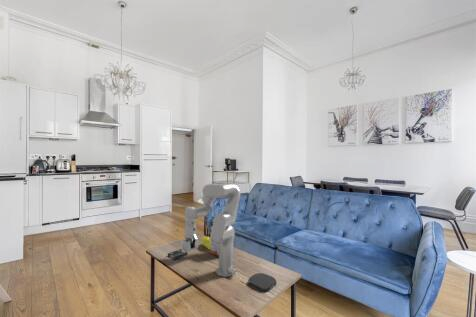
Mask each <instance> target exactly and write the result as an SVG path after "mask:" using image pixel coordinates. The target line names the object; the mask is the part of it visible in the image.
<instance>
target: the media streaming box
mask: <svg viewBox="0 0 476 317" xmlns="http://www.w3.org/2000/svg"><path fill="white" fill-rule="evenodd" d="M247 284H248V286H249V287H251V288H252V289H256V290H258V291H260V292H262V293H268V292H270V291H271V290H272V289H273V288H274V287H275V286H276V285H277V280H276V278H275V277H273V276H272V275H269V274H267V273H263V272H260V273H259V272H257V273H255V274H253V275H251V276H250V277H249V278H248V281H247Z"/></svg>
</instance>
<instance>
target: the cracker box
mask: <svg viewBox="0 0 476 317" xmlns="http://www.w3.org/2000/svg"><path fill="white" fill-rule="evenodd" d="M212 227H213V226H211V227H210V229H209V230H210V231H209V232H210V233H209V234H210V236H209V237H210V250H209V253H210V254H211V255H215V256H218V257H219V244H216V243H214V242H213V241H212V238H211V232H212Z"/></svg>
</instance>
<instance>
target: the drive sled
mask: <svg viewBox="0 0 476 317" xmlns="http://www.w3.org/2000/svg"><path fill="white" fill-rule="evenodd" d="M188 252H189V251H188ZM188 252H186V251H183V248H180V249H176V250H173V251H170V252H168V253H167V257H168V258H170V259H171V260H173V261H176V260H179V259H180V258H183V257H186V256H188Z"/></svg>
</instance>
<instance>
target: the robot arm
mask: <svg viewBox="0 0 476 317" xmlns="http://www.w3.org/2000/svg"><path fill="white" fill-rule="evenodd" d="M226 197H228V198H227V200H226V202H225V205H224V209H223V211H221V212H217V213H216V214H215V216H214V217H213V218H214V219H213V222H212V226H211V227H212V232H211V238H212V241H213V242H214V243H216V244H219V256H218V267H217V269H216V271H215V273H216V275H218V276H219V277H223V278H224V277H225V278H227V277H228V278H229V277H232V276H235V275H236V272H237V270H236V269H235V266H234V264H233V262H234V259H233V258H234V256H233V255H234V240H235V228H234V227H233V224H234V223H235V222H236V218H237V214H238V209H239V205H240V200H241V190H240V188H239V186H238V185H237V184H235V183H232V182H231V183H223V184H221V183H220V184H219V183H209V184H205V185H204V186H203V188H202V196H201V201H202V202H203V205H202V206H198V207H195V206H186V207H185V210H184V211H185V212H184V215H185V220H184V221H185V226H184V227H185V228H184V237H185V240H187V239H191V242H192V243H191V248H195V241H196V240H197V238H198V230H197V225H196V219H199V218H203V217H206V216H207V215H208V214H209V212H210V211H211V210H212V209H213V208H212V207H213V203H214V201H215V200H216V199H219V198H220V199H221V198H226ZM193 239H194V240H193Z"/></svg>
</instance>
